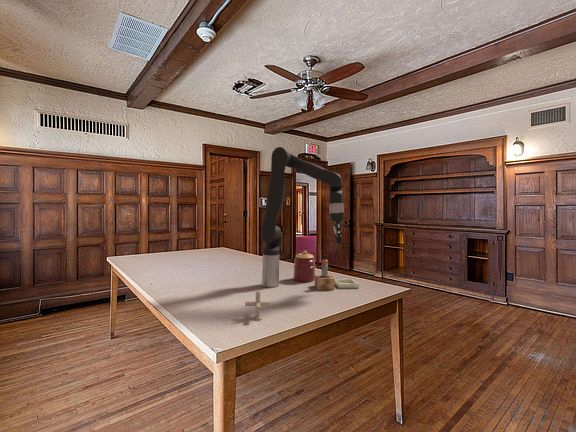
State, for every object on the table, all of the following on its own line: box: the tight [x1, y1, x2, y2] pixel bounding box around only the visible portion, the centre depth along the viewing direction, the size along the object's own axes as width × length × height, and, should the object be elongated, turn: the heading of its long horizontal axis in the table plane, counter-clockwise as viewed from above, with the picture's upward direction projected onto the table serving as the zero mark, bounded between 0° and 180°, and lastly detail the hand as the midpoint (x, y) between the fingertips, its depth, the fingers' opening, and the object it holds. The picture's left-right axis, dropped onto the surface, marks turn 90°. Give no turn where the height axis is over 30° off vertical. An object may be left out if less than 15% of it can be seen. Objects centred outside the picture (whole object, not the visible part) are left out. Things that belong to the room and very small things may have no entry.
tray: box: [335, 278, 360, 290], centre depth 170 cm, size 11×11×2 cm
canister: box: [293, 250, 316, 283], centre depth 182 cm, size 13×13×18 cm
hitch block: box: [314, 274, 336, 291], centre depth 165 cm, size 9×9×6 cm
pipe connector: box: [244, 290, 272, 318], centre depth 120 cm, size 10×10×10 cm
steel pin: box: [321, 259, 329, 278], centre depth 165 cm, size 3×3×15 cm
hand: (338, 242), depth 159 cm, fingers open, 8 cm apart
